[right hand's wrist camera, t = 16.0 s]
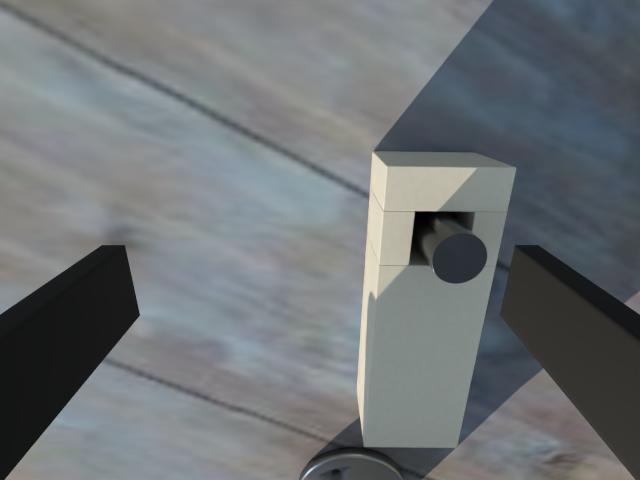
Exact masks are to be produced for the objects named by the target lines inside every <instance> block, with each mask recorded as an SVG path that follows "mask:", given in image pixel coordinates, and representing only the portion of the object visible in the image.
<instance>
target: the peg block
mask: <svg viewBox="0 0 640 480" xmlns="http://www.w3.org/2000/svg"><path fill="white" fill-rule="evenodd" d="M516 169H517V168H516V167H514V166H511V165H508V164H505V163H503V162H500V161H497V160H494V159H491V158H489V157H486V156H483V155H480V154H478V153H473V152H399V151H373V154H372V169H371V184H370V187H371V188H370V199H369V214H368V230H367V232H368V233H367V245H366V260H365V275H364V290H363V305H362V321H361V336H360V351H359V366H358V381H357V396H358V404H359V412H360V420H361V428H362V436H363V444H364V447H408V448H457V445H458V441H459V436H460V431H461V426H462V422H463V417H464V412H465V408H466V403H467V398H468V394H469V389H470V384H471V380H472V375H473V370H474V366H475V361H476V356H477V352H478V347H479V342H480V338H481V333H482V328H483V324H484V319H485V314H486V309H487V305H488V300H489V295H490V291H491V286H492V281H493V277H494V272H495V266H496V263H497V258H498V253H499V249H500V244H501V239H502V235H503V230H504V225H505V220H506V216H507V211H508V206H509V201H510V197H511V192H512V187H513V183H514V178H515V173H516ZM415 211H449V212H450V213H451V214H452V215H453V216H455V217H456V218H457V219H458V220H459V221H460V222H461V223H462V224H464V225H465V226H466V227H467V228H468V229H469V230H470V231H471V232H473V233H474V234H475V235H476V236H477V237H478V238H479V239H480V240H481V241H482V242H483V243H484V245H485V246H486V249H487V261H486V264H485V266H484V268H483V270H482V271H481V272H480V273H479V274H478V275H477V276H476V277H475V278H473V279H472V280H470V281H467V282H464V283H459V284H452V283H448V282H445V281H443V280H441V279H440V278H438V277H437V276H436V274H435V273H434V271H433V270H432V268H431V267H430V265H429V264H428V262H427V261H426V259H425V257H424V256H423V254H422V253H421V251H420V250H419V248H418V247H417V245H416V244H415V242H414V241H413V239H412V235H413V226H414V217H415Z"/></svg>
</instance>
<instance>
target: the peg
mask: <svg viewBox="0 0 640 480" xmlns="http://www.w3.org/2000/svg"><path fill="white" fill-rule="evenodd" d="M412 239H413V241H414V242H415V244H416V245H417V247H418V248H419V250H420V251H421V253H422V254H423V256H424V257H425V259H426V261H427V262H428V264H429V265H430V267H431V268H432V270H433V271H434V273H435V274H436V276H437V277H438V278H440V279H441V280H443V281H445V282H448V283H452V284H459V283H464V282H467V281H470V280H472V279H473V278H475V277H476V276H477V275H478V274H479V273H480V272H481V271H482V270H483V268H484V266H485V264H486V261H487V249H486V246H485V245H484V243H483V242H482V241H481V240H480V239H479V238H478V237H477V236H476V235H475V234H474V233H473V232H471V231H470V230H469V229H468V228H467V227H466V226H465V225H464V224H462V223H461V222H460V221H459V220H458V219H457V218H456V217H455V216H453V215H452V214H451V213H450V212H449V211H415V217H414V226H413V235H412Z"/></svg>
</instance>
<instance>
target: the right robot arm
mask: <svg viewBox="0 0 640 480" xmlns="http://www.w3.org/2000/svg"><path fill="white" fill-rule="evenodd" d="M139 316H140V313H139V309H138V304H137V299H136V295H135V290H134V286H133V281H132V276H131V272H130V267H129V262H128V258H127V253H126V249H125V245H102V246H100V247H99V248H97V249H96V250H94V251H93V252H91V253H90V254H89V255H87V256H86V257H84V258H83V259H81V260H80V261H78V262H77V263H75V264H74V265H72V266H71V267H69V268H68V269H67V270H65V271H64V272H62V273H61V274H59V275H58V276H56V277H55V278H53V279H52V280H50V281H49V282H48V283H46V284H45V285H43V286H42V287H40V288H39V289H37V290H36V291H34V292H33V293H31V294H30V295H28V296H27V297H26V298H24V299H23V300H21V301H20V302H18V303H17V304H15V305H14V306H12V307H11V308H9V309H8V310H6V311H5V312H4V313H2V314H1V315H0V480H5V478H6V477H7V476H8V475H9V473H10V472H11V471H12V470H13V469H14V467H15V466H16V465H17V464H18V463H19V461H20V460H21V459H22V458H23V457H24V455H25V454H26V453H27V452H28V450H29V449H30V448H31V447H32V446H33V444H34V443H35V442H36V441H37V440H38V438H39V437H40V436H41V435H42V433H43V432H44V431H45V430H46V429H47V427H48V426H49V425H50V424H51V423H52V421H53V420H54V419H55V418H56V416H57V415H58V414H59V413H60V412H61V410H62V409H63V408H64V407H65V406H66V404H67V403H68V402H69V401H70V399H71V398H72V397H73V396H74V395H75V393H76V392H77V391H78V390H79V389H80V387H81V386H82V385H83V384H84V382H85V381H86V380H87V379H88V378H89V376H90V375H91V374H92V373H93V372H94V370H95V369H96V368H97V367H98V365H99V364H100V363H101V362H102V361H103V359H104V358H105V357H106V356H107V355H108V353H109V352H110V351H111V350H112V348H113V347H114V346H115V345H116V344H117V342H118V341H119V340H120V339H121V338H122V336H123V335H124V334H125V333H126V331H127V330H128V329H129V328H130V327H131V325H132V324H133V323H134V322H135V321H136V319H137V318H138V317H139ZM500 316H501V317H502V318H503V319H504V321H505V322H506V323H507V324H508V325H509V327H510V328H511V329H512V330H513V331H514V333H515V334H516V335H517V336H518V338H519V339H520V340H521V341H522V342H523V344H524V345H525V346H526V347H527V348H528V350H529V351H530V352H531V353H532V355H533V356H534V357H535V358H536V359H537V361H538V362H539V363H540V364H541V365H542V367H543V368H544V369H545V370H546V372H547V373H548V374H549V375H550V376H551V378H552V379H553V380H554V381H555V382H556V384H557V385H558V386H559V387H560V389H561V390H562V391H563V392H564V393H565V395H566V396H567V397H568V398H569V399H570V401H571V402H572V403H573V404H574V406H575V407H576V408H577V409H578V410H579V412H580V413H581V414H582V415H583V416H584V418H585V419H586V420H587V421H588V423H589V424H590V425H591V426H592V427H593V429H594V430H595V431H596V432H597V433H598V435H599V436H600V437H601V438H602V440H603V441H604V442H605V443H606V444H607V446H608V447H609V448H610V449H611V450H612V452H613V453H614V454H615V455H616V457H617V458H618V459H619V460H620V461H621V463H622V464H623V465H624V466H625V467H626V469H627V470H628V471H629V472H630V473H631V475H632V476H633V477H634V478H635V480H640V315H639V314H638V313H636V312H635V311H634V310H632V309H631V308H629V307H628V306H626V305H625V304H623V303H622V302H620V301H619V300H617V299H616V298H614V297H613V296H612V295H610V294H609V293H607V292H606V291H604V290H603V289H601V288H600V287H598V286H597V285H595V284H594V283H592V282H591V281H590V280H588V279H587V278H585V277H584V276H582V275H581V274H579V273H578V272H576V271H575V270H573V269H572V268H571V267H569V266H568V265H566V264H565V263H563V262H562V261H560V260H559V259H557V258H556V257H554V256H553V255H551V254H550V253H549V252H547V251H546V250H544V249H543V248H541V247H540V246H538V245H515V249H514V253H513V258H512V262H511V267H510V272H509V276H508V281H507V286H506V290H505V295H504V299H503V304H502V309H501V313H500Z"/></svg>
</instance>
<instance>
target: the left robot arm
mask: <svg viewBox="0 0 640 480" xmlns="http://www.w3.org/2000/svg"><path fill="white" fill-rule="evenodd" d="M299 480H404V479H403V475H402V472H401V470H400V469H399V467H398V466H397V465H396V464H395V463H394V462H393V461H392V460H391V459H389V458H388V457H386V456H385V455H383V454H380V453H378V452H375V451H372V450H367V449H361V448H345V449H338V450H334V451H330V452H327V453H325V454H322V455H320V456H318V457H317V458H315V459H314V460H312V461H311V462H310V463H309V464H308V465H307V466H306V467H305V468H304V470H303V471H302V473H301V475H300V478H299Z"/></svg>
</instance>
